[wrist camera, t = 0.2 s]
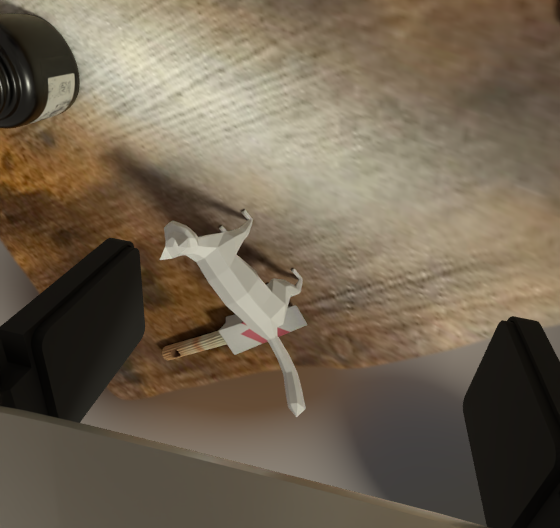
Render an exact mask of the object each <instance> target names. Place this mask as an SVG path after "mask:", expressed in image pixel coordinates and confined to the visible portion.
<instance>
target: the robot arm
mask: <svg viewBox="0 0 560 528" xmlns="http://www.w3.org/2000/svg"><path fill="white" fill-rule="evenodd" d="M144 331H145V320H144V307H143V294H142V280H141V267H140V254H139V250H138V249H137V248H134V245H133V243H132V242H130V241H125V240H120V239H115V238H109V239H107V240H106V241H104V242H103V243H102V244H101V245H99V246H98V247H97V248H96V249H95V250H93V251H92V252H91V253H90V254H88V255H87V256H86V257H85V258H84V259H82V260H81V261H80V262H79V263H77V264H76V265H75V266H74V267H73V268H71V269H70V270H69V271H68V272H66V273H65V274H64V275H63V276H62V277H60V278H59V279H58V280H57V281H55V282H54V283H53V284H52V285H51V286H49V287H48V288H47V289H46V290H44V291H43V292H42V293H41V294H40V295H38V296H37V297H36V298H35V299H33V300H32V301H31V302H30V303H29V304H27V305H26V306H25V307H24V308H23V309H21V310H20V311H19V312H18V313H17V314H15V315H14V316H13V317H11V318H10V319H9V320H8V321H7V322H6V323H4V324H3V325H2V326H0V528H560V361H559V359H558V357H557V356H556V354H555V352H554V350H553V348H552V346H551V344H550V342H549V340H548V338H547V336H546V334H545V332H544V330H543V328H542V326H541V325H540V323H539V322H538V321H534V320H529V319H524V318H519V317H514V316H512V317H510V318H509V319H508V320H507V321H501V322H500V323H499V324H498V326H497V328H496V330H495V332H494V335H493V337H492V339H491V341H490V343H489V345H488V348H487V350H486V352H485V354H484V356H483V359H482V361H481V363H480V365H479V367H478V369H477V372H476V374H475V376H474V378H473V380H472V382H471V384H470V386H469V389H468V391H467V393H466V395H465V398H464V402H463V413H464V417H465V423H466V427H467V432H468V437H469V442H470V446H471V451H472V456H473V461H474V466H475V471H476V476H477V480H478V486H479V490H480V495H481V500H482V505H483V509H484V515H485V519H486V524H487V527H486V526H482V525H479V524H475V523H471V522H468V521H464V520H460V519H457V518H453V517H449V516H446V515H442V514H439V513H435V512H431V511H427V510H423V509H419V508H415V507H412V506H408V505H404V504H400V503H396V502H392V501H388V500H384V499H380V498H376V497H373V496H368V495H365V494H361V493H357V492H353V491H350V490H346V489H342V488H338V487H334V486H330V485H326V484H322V483H319V482H315V481H311V480H307V479H303V478H299V477H295V476H291V475H287V474H283V473H279V472H275V471H271V470H267V469H263V468H259V467H255V466H251V465H247V464H243V463H240V462H235V461H232V460H228V459H224V458H220V457H216V456H212V455H208V454H203V453H199V452H196V451H191V450H187V449H183V448H179V447H176V446H172V445H167V444H163V443H159V442H155V441H151V440H147V439H143V438H139V437H135V436H131V435H127V434H123V433H119V432H114V431H111V430H107V429H102V428H98V427H94V426H90V425H86V424H82V423H80V422H81V420H82V419H83V417H84V416H85V415H86V413H87V412H88V411H89V409H90V408H91V406H92V405H93V404H94V403H95V401H96V400H97V398H98V397H99V396H100V394H101V393H102V392H103V390H104V389H105V388H106V386H107V385H108V384H109V382H110V381H111V380H112V378H113V377H114V376H115V374H116V373H117V371H118V370H119V369H120V367H121V366H122V365H123V363H124V362H125V361H126V359H127V358H128V357H129V355H130V354H131V353H132V351H133V350H134V348H135V347H136V346H137V344H138V343H139V342H140V340H141V339H142V337H143V334H144Z"/></svg>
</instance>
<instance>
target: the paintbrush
mask: <svg viewBox="0 0 560 528" xmlns="http://www.w3.org/2000/svg"><path fill="white" fill-rule="evenodd" d="M306 325H307V323H306V321H305V320H304V318H303V316H302V315H301V313H300V311H299V309H298V308H297V306H296V305H295V306H289V307H288V308H287V312H286V315H285V319H284V323H283V325H281V326H279V327H277V336H278V337H279V336H281V335H284V334H286V333H289V332H291V331H293V330H296V329H298V328H301V327H303V326H306ZM265 342H267V340H266V339H264V338H263V337H261V336H260V335H258V334H257V333H255V332H254V331H252V330H251V329H250V328H249V327H248V326H247V325H246V324H245V323H244V322H243V321H242V320H241V319H240V318H239V317H238V316H237V315H231V316H227V317H226V323H225V324H224V325H223V326H222V327H221V328H220V329H219V330H218V331H215V332H212V333H209V334H206V335H202V336H199V337H196V338H192V339H189V340H185V341H182V342H178V343H175V344H172V345H168V346H165V347H164V348H163V350H162V351H163V352H162V355H163V357H164V358H165V359H167V360H172V359H175V358H179V357H182V356H186V355H189V354H193V353H196V352H200V351H204V350H207V349H211V348H214V347H218V346H222V345H226V344H228V346H229V347H230V349H231V350H232V352H233V353H234V355H236V354H238V353H241V352H243V351H245V350H248V349H250V348H253V347H255V346H257V345H260V344H262V343H265Z"/></svg>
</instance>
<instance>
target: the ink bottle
mask: <svg viewBox="0 0 560 528" xmlns="http://www.w3.org/2000/svg"><path fill="white" fill-rule="evenodd" d="M79 84H80V81H79V72H78V68H77V64H76V61H75V58H74V56H73V53H72V51H71V49H70V48H69V46H68V44H67V43H66V41H65V40H64V38H63V37H62V36H61V34H60V33H59V32H58V31H57V30H56V29H55V28H54V27H53V26H52V25H51V24H49V23H48V22H46V21H45V20H43V19H41V18H39V17H36V16H33V15H29V14H0V128H16V127H20V126H23V125H27V124H30V123H33V122H36V121H40V120H43V119H46V118H49V117H52V116H55V115H58V114H61V113H63V112H64V111H66V110H67V109H68V108H70V107H71V105H72V104H73V103H74V101H75V100H76V98H77V95H78V92H79Z"/></svg>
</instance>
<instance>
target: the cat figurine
mask: <svg viewBox="0 0 560 528" xmlns="http://www.w3.org/2000/svg"><path fill="white" fill-rule="evenodd" d="M241 213H242V214H243V215H244V216H245V218H246V219H247V220H248V221H247V222H246V223H244V224H243V225H242V226H241V227H240V228H238V229H235V230H231V231H226V229H225V228H224V227H223V226H221V227H220V228H219V229H220V230H221V232H222V233H216V234H209V235H204V236H200V237H198V236H197V235H196V234H195V232H193V231H192V230H191V229H190V228H189V227H188V226H186V225H183V224H181V223H178V222H176V221H171V222H170V223H169V224H168V225H167V226H166V227H165V228H164V231H165V239H166V246H165V249H164V251H163V254H162V256H161V258H160V259H159V260H164V259H172V258H175V257H177V256H181V255H186V256H188V257H189V258H191V259H193V260H194V261H196V262H197V264H198V266H199V267H200V269H201V271H202V272H203V274H204V276H205V277H206V279H207V281H208V282H209V284H210V285H211V286H212V288H213V289H214V290H215V292H216V293H217V294H218V295H219V297H220V298H221V299H222V301H223V302H224V303H225V305H226V306H227V307H228V308H229V309H230V310H232V311H233V312H234V313H235V314H236V315H237V316H238V317H239V318H240V319H241V320H242V321H243V322H244V323H245V324H246V325H247V326H248V327H249V328H250V329H251V330H252V331H254V332H255V333H257V334H258V335H260V336H261V337H263V338H264V339H266V340H267V341H268V342H269V344H270V346H271V347H272V349H273V351H274V353H275V355H276V357H277V359H278V361H279V364H280V367H281V369H282V372H283V375H284V382H285V390H286V397H287V403H288V407H289V408H290V410H291V411H292V412H293V413H294V415H295V416H296V417H297V416H298V415H299V414H300V413H302V412H303V411H304V410H305V408H306V407H305V403H304V398H303V393H302V390H301V385H300V381H299V377H298V373H297V371H296V369H295V367H294V365H293V362H292V360H291V358H290V356H289V354H288V353H287V351H286V349H285V347H284V346H283V344H282V342H281V341H280V339H279V337H278V336H277V327H279V326H281V325H283V323H284V319H285V315H286V312H287V308H288V304H289V300H290V297H292V296H294V295H297V294H299V293H300V292H301V287H302V277H301V276H300V275H299V274H298V272H297V271H296V270H295V269H292V270H291V271H292V272H293V273H294V274H295V275H296V277H297V278H298V282H297V283H296V285H293V284H291V283H289V282H287V281H286V280H282V279H272V280H271V281H270V283H268V284H267V286H268V287H267V286H266V285H265V284H264V283H263V281H262V280H261V279H260V278H259V276H258V274H257V272H256V271H255V270H254V269H253V268H252V267H251V266H250V265H248V264H247V263H246V262H245V261H244V260H243V259H241V258H240V257H239V256H238V255H237V254H236V253H237V252H238V250H239V248H240V246H241V244H242V243H243V241H244V239H245V238H246V237H247V236H248V234H249V231H250V228H251V226H252V222H253V219H252V217H251V216H250V215H249V214H248V212H247V211H246V210H244V211H243V212H241Z"/></svg>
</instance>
